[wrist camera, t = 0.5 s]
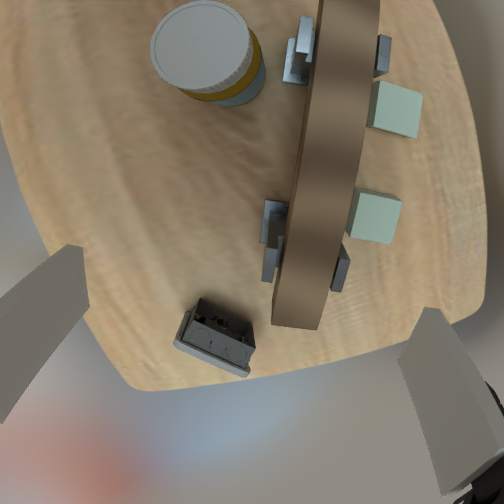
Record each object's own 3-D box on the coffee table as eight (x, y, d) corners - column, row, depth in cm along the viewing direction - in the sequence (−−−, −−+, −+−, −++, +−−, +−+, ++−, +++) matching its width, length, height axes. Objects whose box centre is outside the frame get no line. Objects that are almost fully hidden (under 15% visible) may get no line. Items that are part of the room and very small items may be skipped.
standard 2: (288, 39, 26) (293, 3, 16) (362, 54, 26) (399, 29, 16) (282, 81, 28) (285, 62, 18) (357, 96, 28) (394, 87, 18)
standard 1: (265, 199, 34) (260, 234, 24) (336, 210, 34) (360, 250, 24) (259, 240, 36) (252, 290, 26) (327, 251, 36) (344, 303, 26)
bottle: (279, 68, 28) (281, 27, 14) (239, 119, 30) (210, 118, 17) (224, 34, 27) (186, -21, 13) (186, 85, 29) (123, 65, 16)
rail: (319, -5, 18) (326, -23, 14) (366, 7, 18) (380, -9, 14) (272, 299, 30) (271, 324, 26) (312, 305, 30) (316, 330, 26)
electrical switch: (183, 314, 41) (166, 355, 32) (198, 284, 40) (182, 323, 31) (244, 343, 42) (241, 388, 34) (262, 315, 41) (263, 359, 32)
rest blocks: (372, 82, 27) (380, 80, 25) (413, 95, 27) (423, 94, 25) (345, 229, 34) (349, 237, 32) (384, 236, 34) (390, 244, 32)
